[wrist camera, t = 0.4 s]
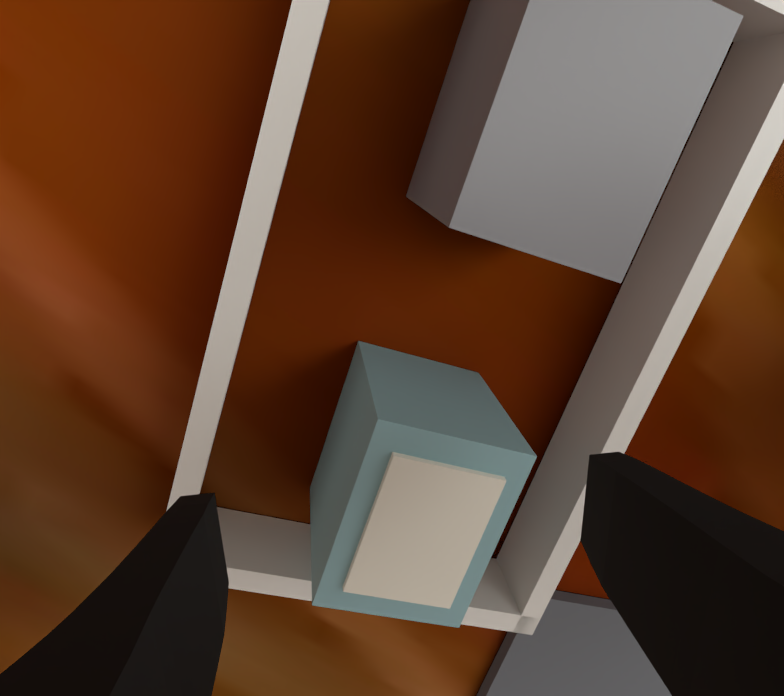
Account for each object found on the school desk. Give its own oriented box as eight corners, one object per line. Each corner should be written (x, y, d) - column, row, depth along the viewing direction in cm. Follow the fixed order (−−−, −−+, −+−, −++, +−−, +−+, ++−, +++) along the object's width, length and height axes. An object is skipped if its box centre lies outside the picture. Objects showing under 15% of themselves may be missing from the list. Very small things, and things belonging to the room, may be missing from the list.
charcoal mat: (722, 619, 27) (730, 629, 27) (628, 769, 30) (634, 782, 30) (530, 585, 25) (535, 596, 24) (448, 752, 28) (451, 765, 27)
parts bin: (767, 24, 18) (850, 7, 16) (506, 577, 25) (532, 635, 22) (343, -179, 15) (352, -246, 12) (170, 517, 21) (150, 575, 19)
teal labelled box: (477, 372, 21) (539, 460, 16) (422, 510, 23) (461, 633, 17) (358, 340, 20) (379, 423, 15) (309, 487, 22) (311, 610, 16)
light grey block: (607, 48, 18) (744, 15, 12) (531, 238, 20) (621, 283, 14) (473, -10, 17) (555, -74, 11) (405, 196, 19) (448, 227, 13)
